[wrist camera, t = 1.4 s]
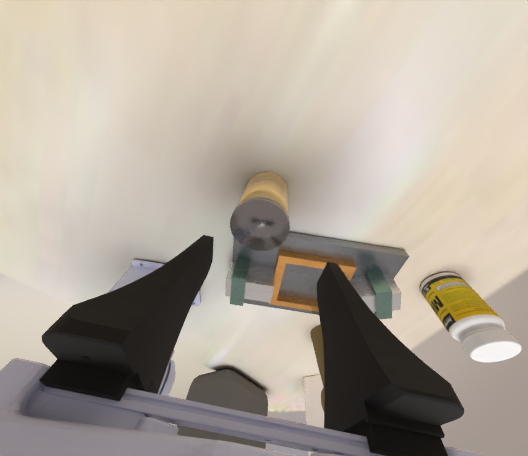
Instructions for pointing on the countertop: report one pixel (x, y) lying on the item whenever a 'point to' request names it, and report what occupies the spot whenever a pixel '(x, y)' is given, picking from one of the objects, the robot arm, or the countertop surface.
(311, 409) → the milk
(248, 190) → the tan and grey cylinder
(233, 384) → the dark grey rounded block
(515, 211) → the countertop surface
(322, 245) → the bench plate
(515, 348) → the supplement bottle
